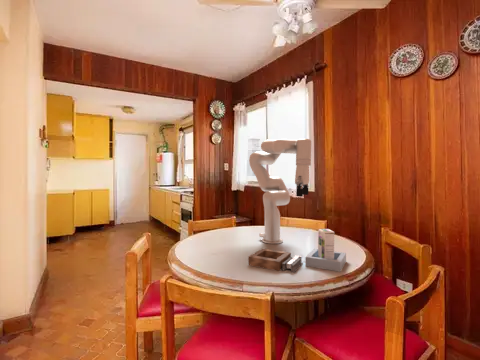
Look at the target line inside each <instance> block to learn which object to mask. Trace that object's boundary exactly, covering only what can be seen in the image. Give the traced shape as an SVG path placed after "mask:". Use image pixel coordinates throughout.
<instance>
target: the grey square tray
mask: <svg viewBox="0 0 480 360" xmlns="http://www.w3.org/2000/svg"><path fill="white" fill-rule="evenodd" d="M346 262H347V253H346V252H341V251H335V250H334V260H332V259H325V258H318V248H314V249H313V250H311V251H310V252H309V253H308V254H307V255H306V256H305V266H306V267H310V268H311V267H312V268H317V269H323V270H328V271H334V272H342V270H343V268H344V266H345V264H346Z"/></svg>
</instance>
